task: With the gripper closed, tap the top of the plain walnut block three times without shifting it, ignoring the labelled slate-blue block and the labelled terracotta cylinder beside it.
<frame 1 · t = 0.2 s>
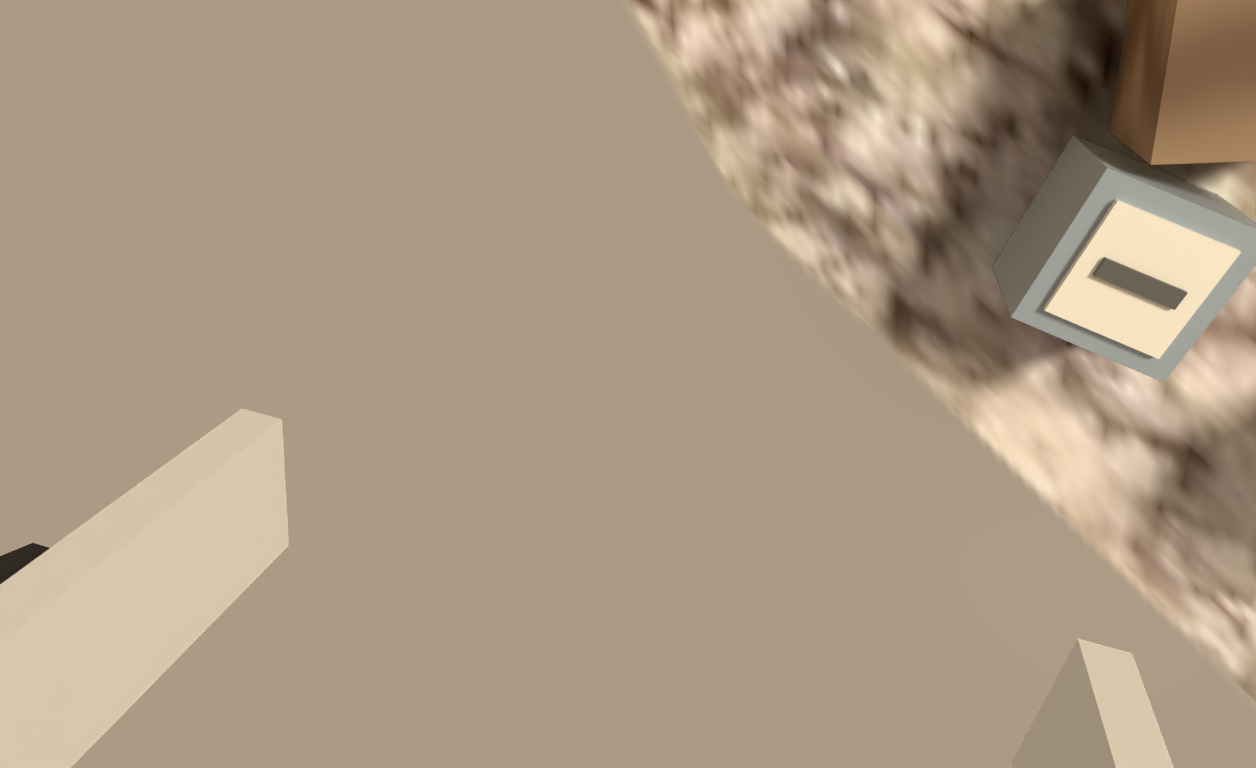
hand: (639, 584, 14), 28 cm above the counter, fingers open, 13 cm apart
walnut block: (1228, 28, 32), on the counter
slate block: (1098, 231, 36), on the counter
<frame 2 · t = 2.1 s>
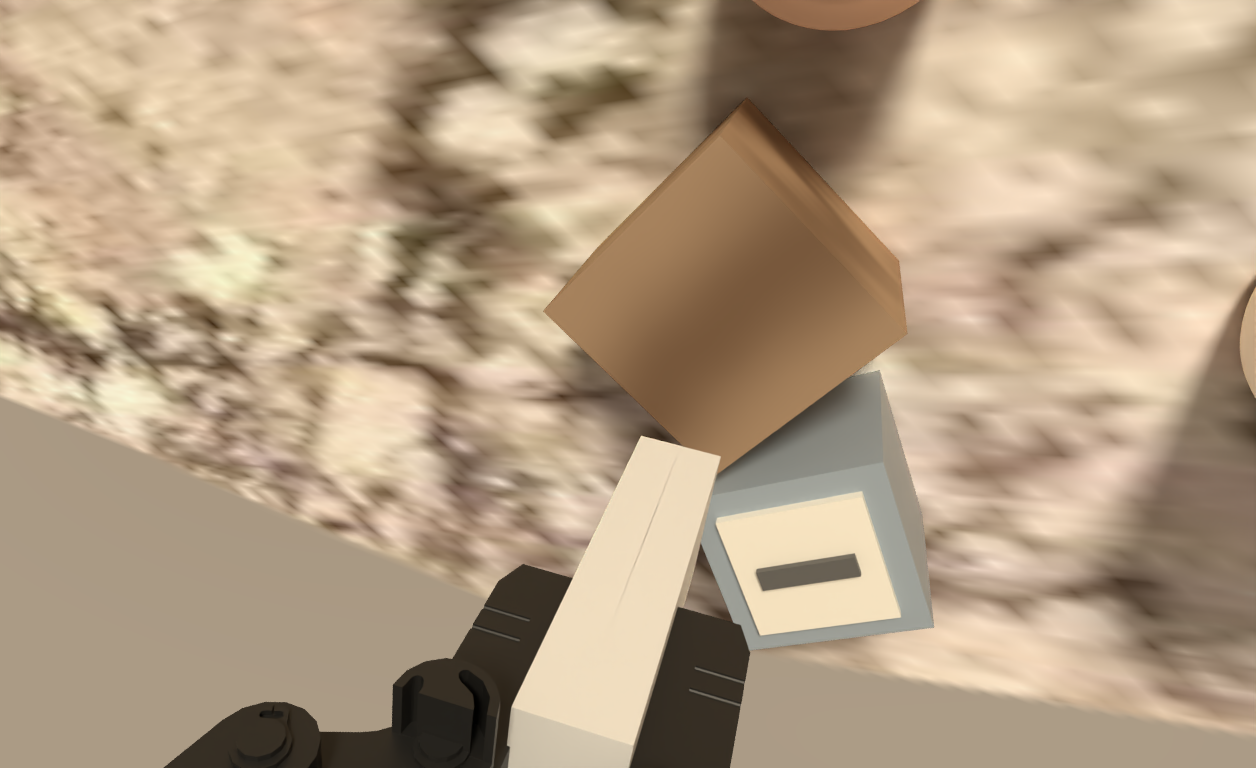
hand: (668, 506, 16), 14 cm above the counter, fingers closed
walnut block: (742, 252, 29), on the counter
slate block: (817, 460, 32), on the counter
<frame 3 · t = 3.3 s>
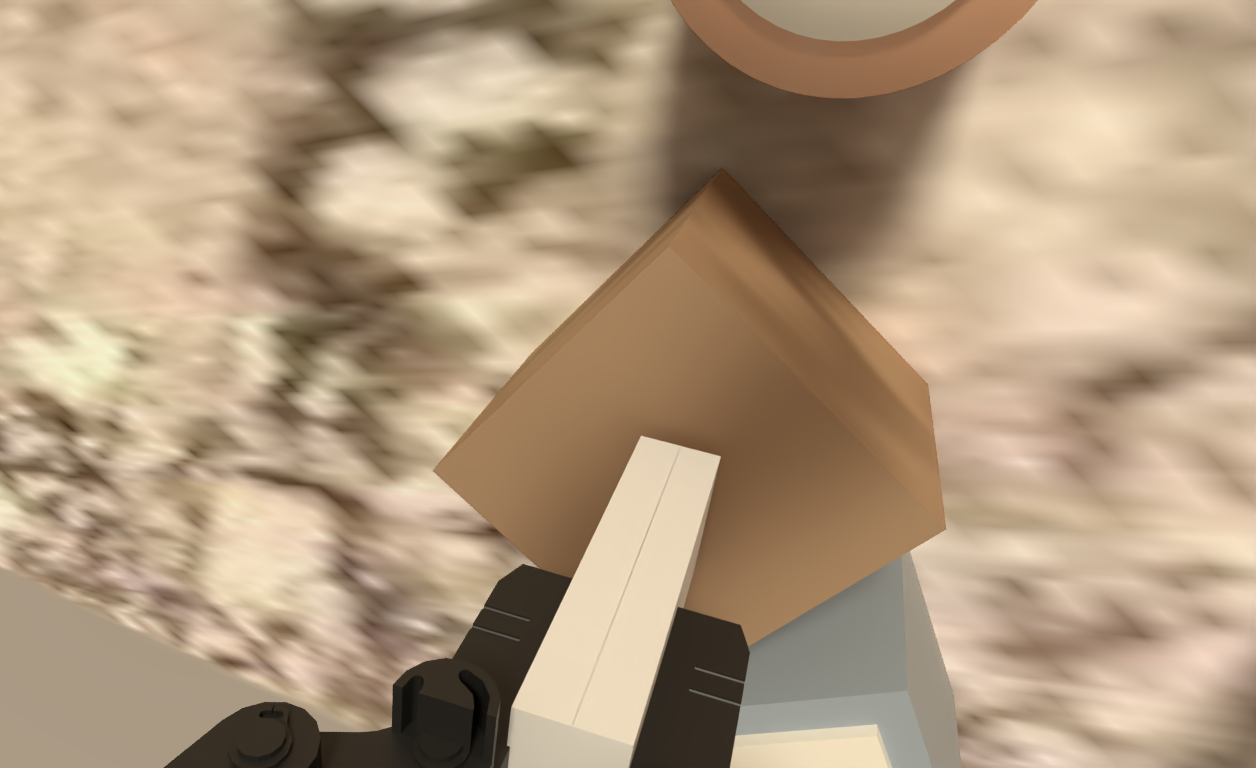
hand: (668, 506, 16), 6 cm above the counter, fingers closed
walnut block: (719, 366, 22), on the counter
slate block: (818, 623, 24), on the counter
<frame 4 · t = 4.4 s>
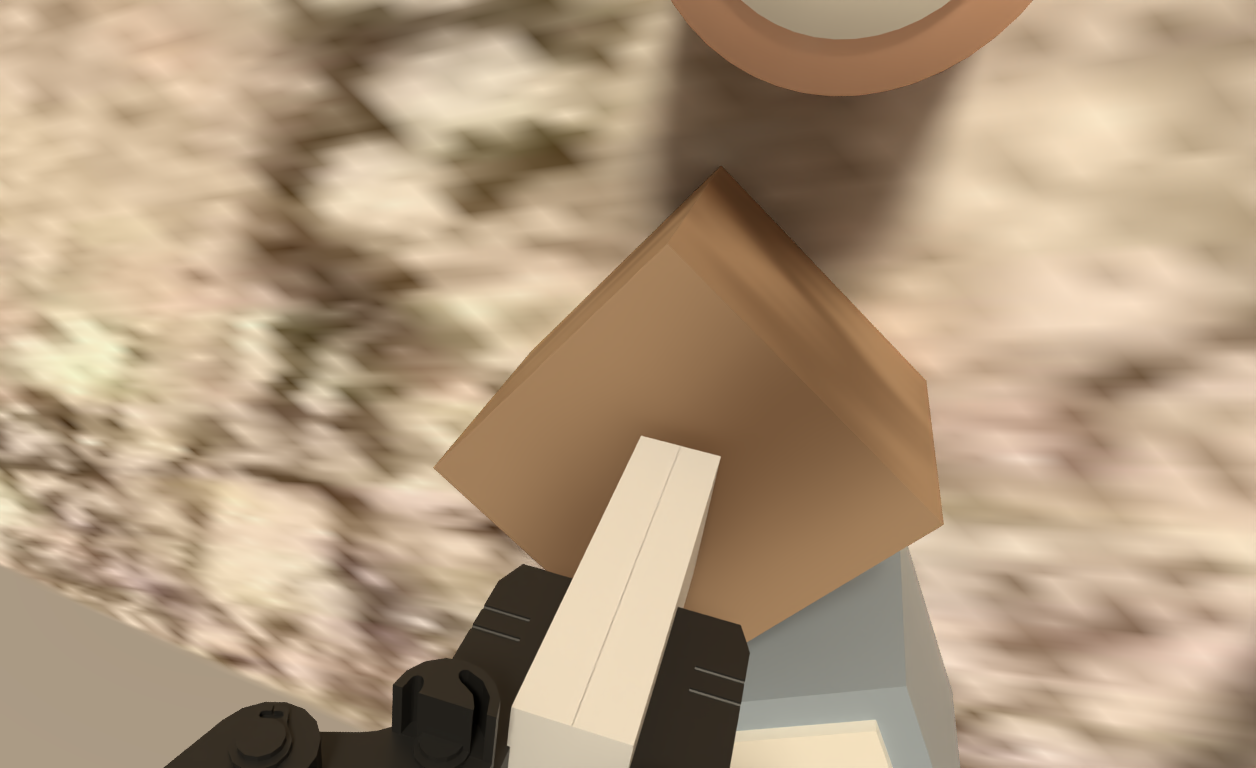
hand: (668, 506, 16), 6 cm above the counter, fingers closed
walnut block: (718, 363, 22), on the counter
slate block: (817, 619, 25), on the counter
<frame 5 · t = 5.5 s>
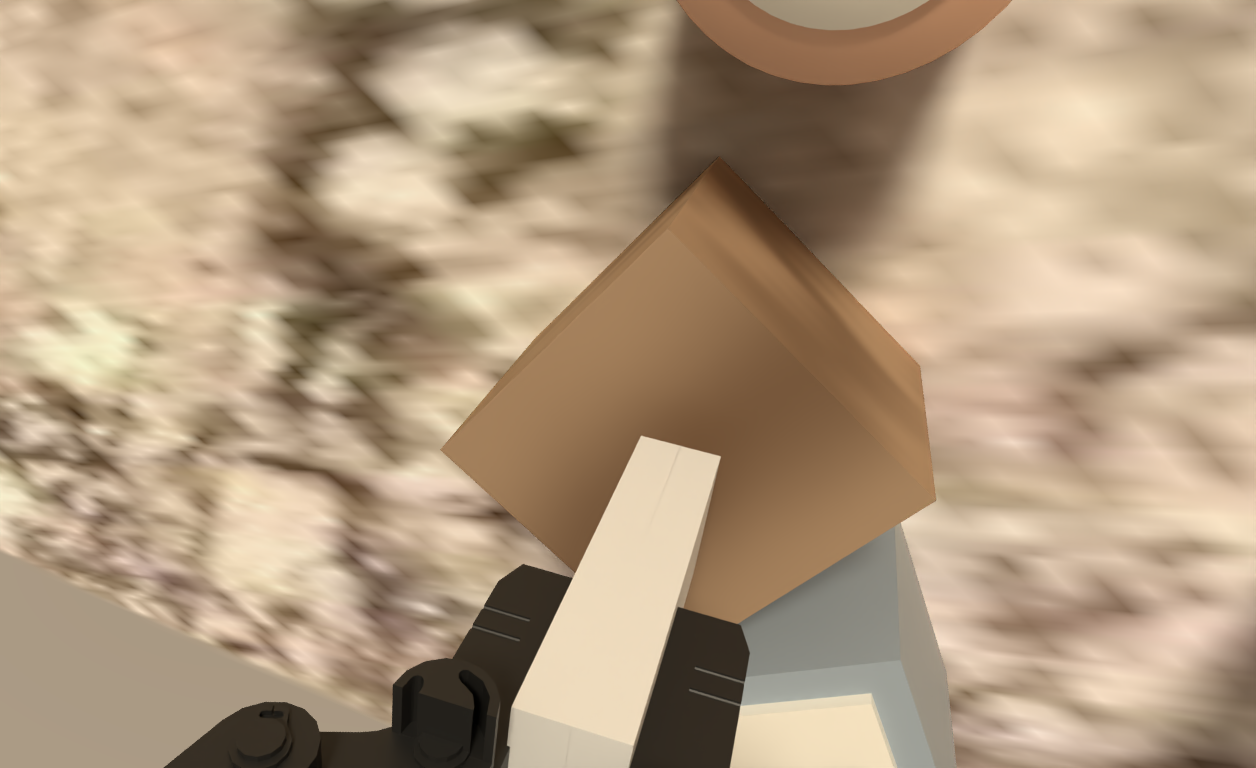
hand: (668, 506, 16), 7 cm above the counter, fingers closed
walnut block: (717, 350, 22), on the counter
slate block: (814, 602, 25), on the counter
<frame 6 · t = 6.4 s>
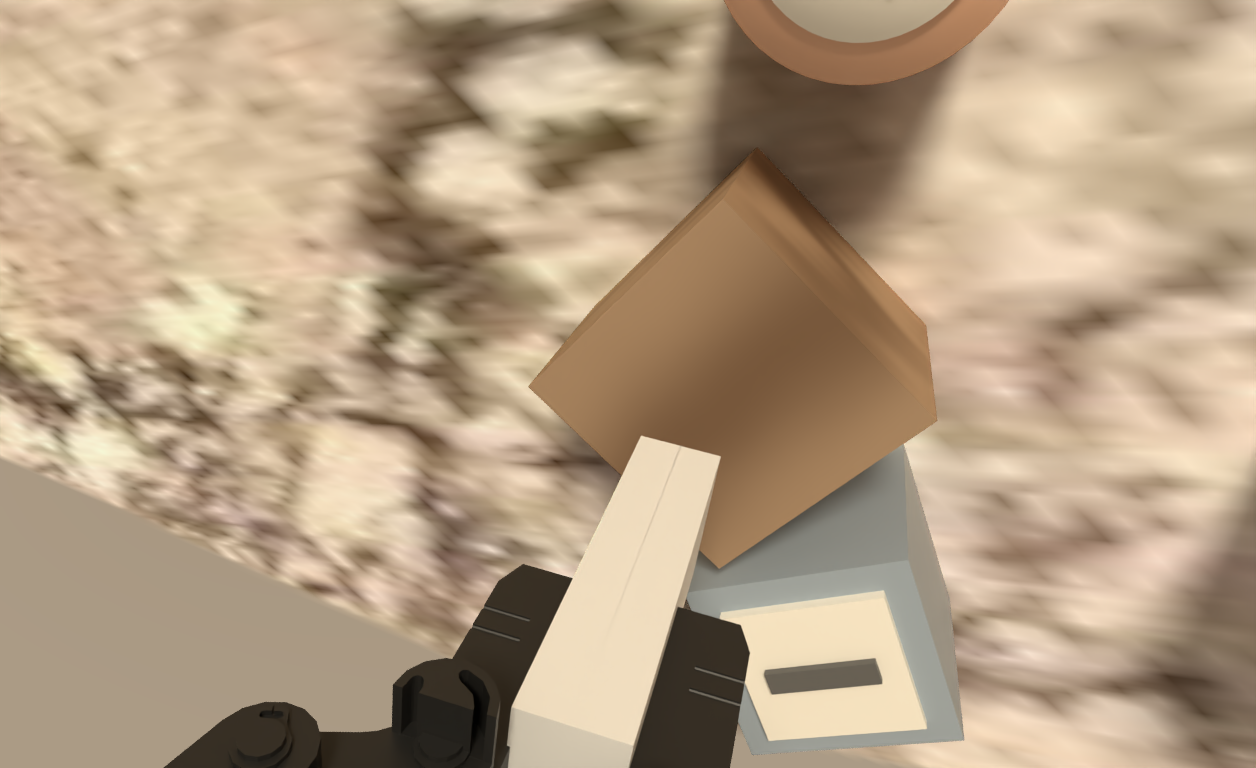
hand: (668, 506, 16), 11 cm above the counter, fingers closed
walnut block: (753, 313, 26), on the counter
slate block: (834, 537, 29), on the counter
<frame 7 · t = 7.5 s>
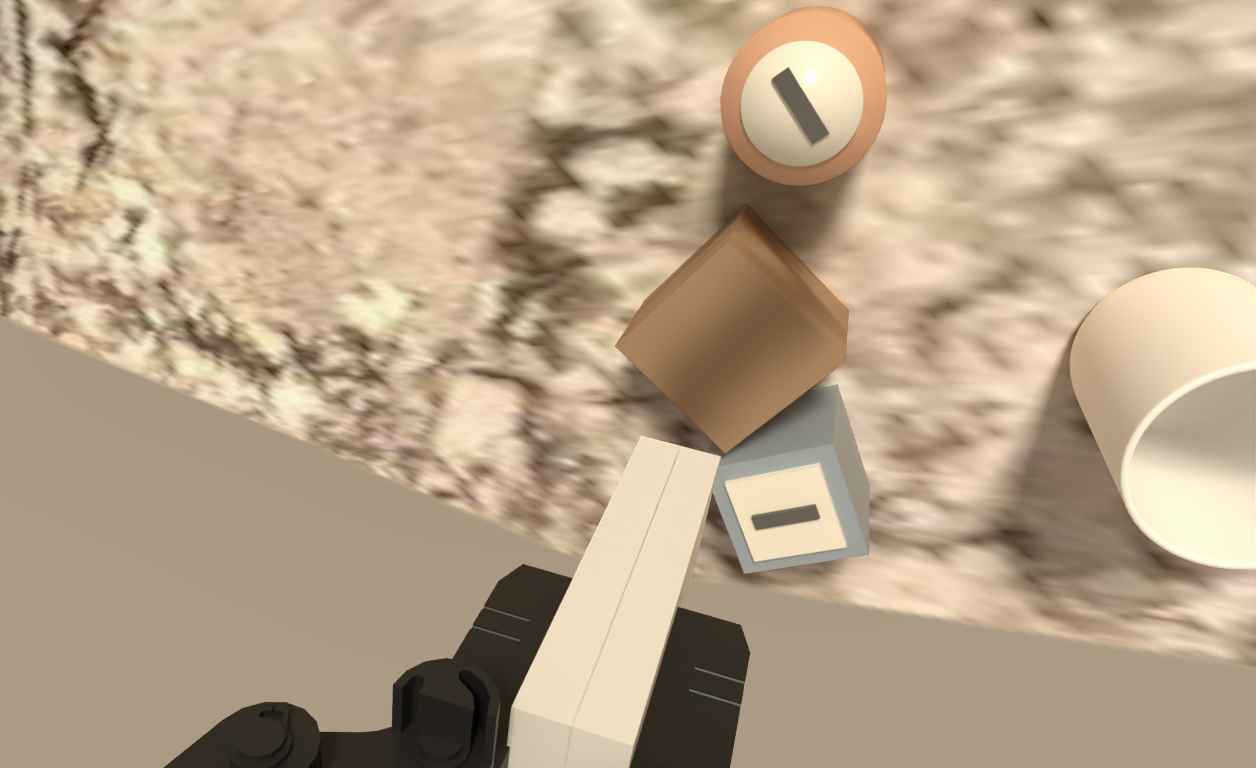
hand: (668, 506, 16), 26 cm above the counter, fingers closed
cup: (1209, 364, 38), on the counter
walnut block: (744, 304, 42), on the counter
terracotta cylinder: (811, 82, 37), on the counter
slate block: (796, 447, 45), on the counter
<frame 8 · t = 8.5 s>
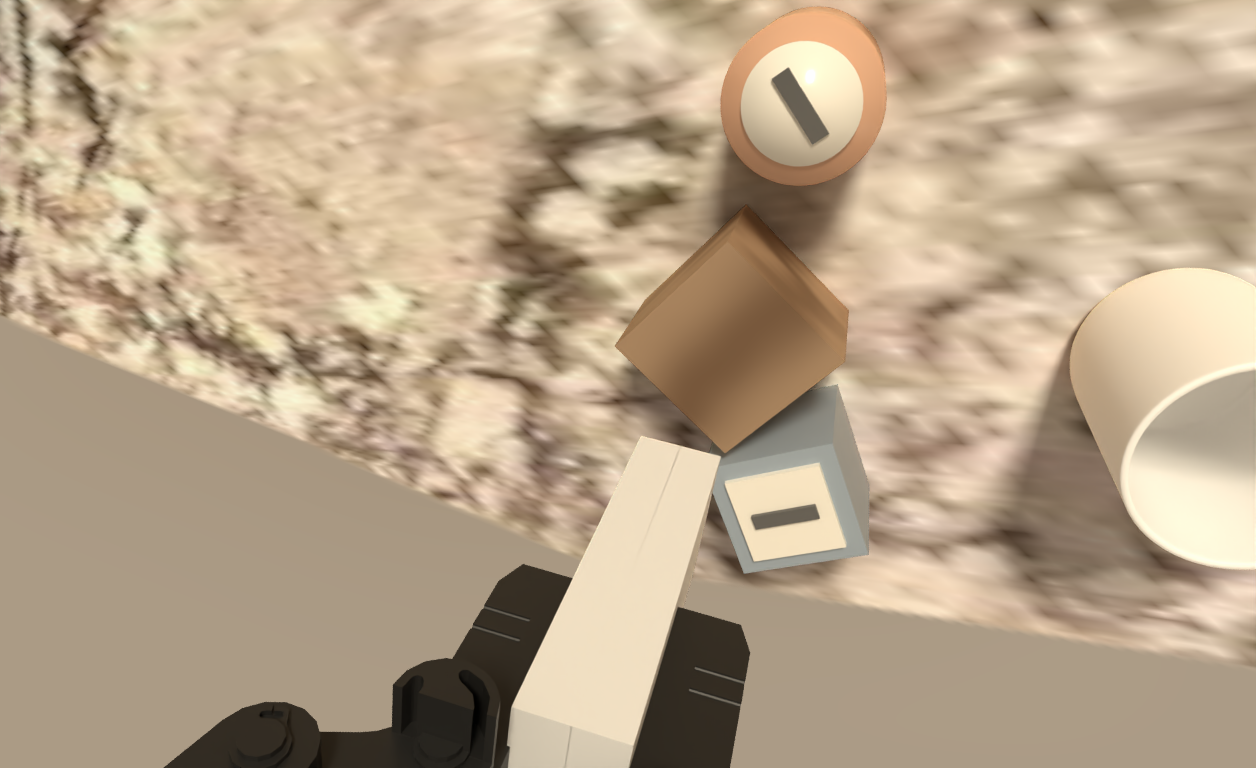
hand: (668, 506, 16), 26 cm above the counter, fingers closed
cup: (1209, 365, 38), on the counter
walnut block: (744, 304, 42), on the counter
terracotta cylinder: (811, 82, 37), on the counter
slate block: (796, 447, 45), on the counter
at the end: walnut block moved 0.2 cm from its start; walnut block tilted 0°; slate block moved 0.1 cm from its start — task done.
